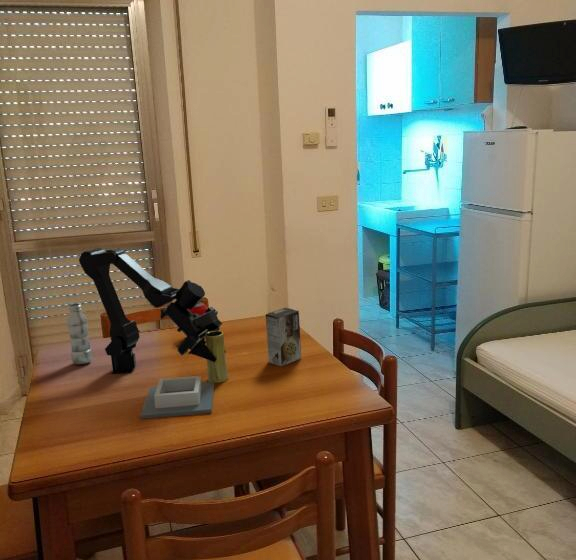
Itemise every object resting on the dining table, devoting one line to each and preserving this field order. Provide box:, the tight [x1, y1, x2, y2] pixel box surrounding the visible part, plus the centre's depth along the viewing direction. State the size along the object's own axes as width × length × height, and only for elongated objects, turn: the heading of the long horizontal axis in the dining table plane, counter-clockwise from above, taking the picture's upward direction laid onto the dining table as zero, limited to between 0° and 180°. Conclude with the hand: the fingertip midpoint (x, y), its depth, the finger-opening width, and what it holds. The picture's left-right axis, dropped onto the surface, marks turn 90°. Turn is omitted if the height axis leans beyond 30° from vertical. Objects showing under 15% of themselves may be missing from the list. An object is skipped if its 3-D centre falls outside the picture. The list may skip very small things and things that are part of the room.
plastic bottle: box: [65, 303, 94, 365], centre depth 181 cm, size 6×7×20 cm
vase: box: [204, 330, 229, 384], centre depth 163 cm, size 6×6×14 cm
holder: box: [140, 375, 215, 420], centre depth 151 cm, size 18×18×4 cm
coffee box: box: [265, 307, 302, 367], centre depth 175 cm, size 9×6×16 cm
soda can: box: [188, 302, 208, 339], centre depth 205 cm, size 8×8×12 cm
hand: (220, 357), depth 163 cm, fingers open, 6 cm apart
